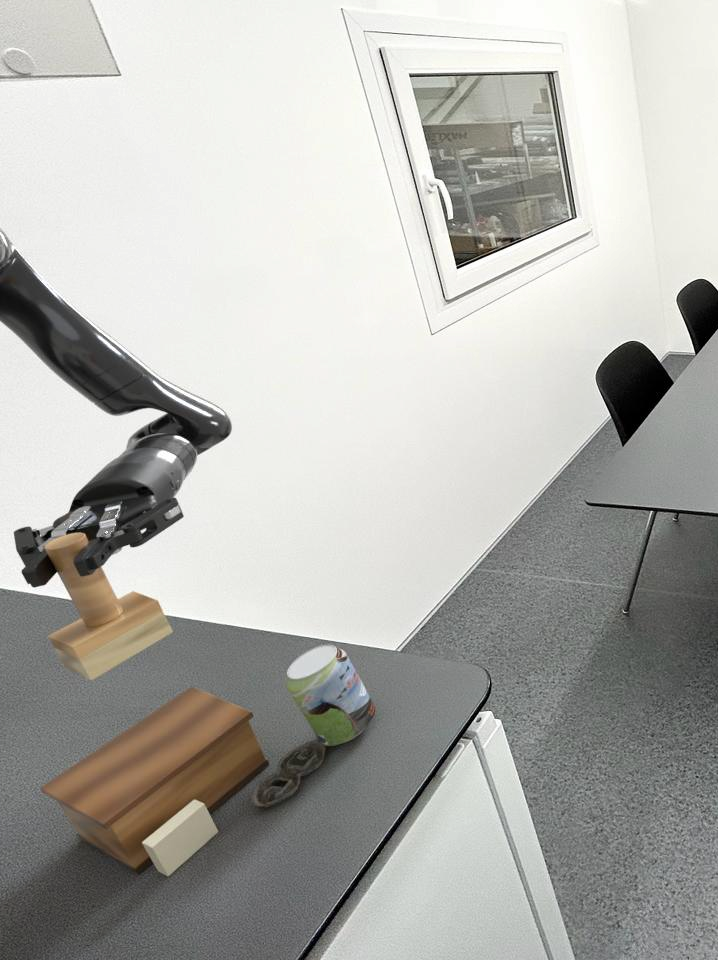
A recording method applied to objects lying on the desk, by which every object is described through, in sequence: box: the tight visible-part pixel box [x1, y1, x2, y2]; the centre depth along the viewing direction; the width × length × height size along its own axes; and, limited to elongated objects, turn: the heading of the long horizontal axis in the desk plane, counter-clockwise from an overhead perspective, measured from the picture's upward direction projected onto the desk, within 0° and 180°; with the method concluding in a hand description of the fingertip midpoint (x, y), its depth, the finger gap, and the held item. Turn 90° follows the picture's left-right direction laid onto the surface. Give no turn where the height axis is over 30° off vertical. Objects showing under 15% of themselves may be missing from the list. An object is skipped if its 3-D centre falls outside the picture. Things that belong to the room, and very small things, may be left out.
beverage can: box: [285, 644, 376, 747], centre depth 76 cm, size 6×7×12 cm
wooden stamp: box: [45, 533, 173, 682], centre depth 66 cm, size 4×7×15 cm, turn 161°
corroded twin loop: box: [251, 739, 327, 808], centre depth 72 cm, size 5×8×1 cm, turn 173°
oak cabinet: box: [39, 686, 270, 876], centre depth 69 cm, size 11×13×8 cm
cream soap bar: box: [142, 799, 219, 877], centre depth 64 cm, size 4×4×2 cm
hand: (58, 573), depth 61 cm, fingers closed on wooden stamp, 3 cm apart
